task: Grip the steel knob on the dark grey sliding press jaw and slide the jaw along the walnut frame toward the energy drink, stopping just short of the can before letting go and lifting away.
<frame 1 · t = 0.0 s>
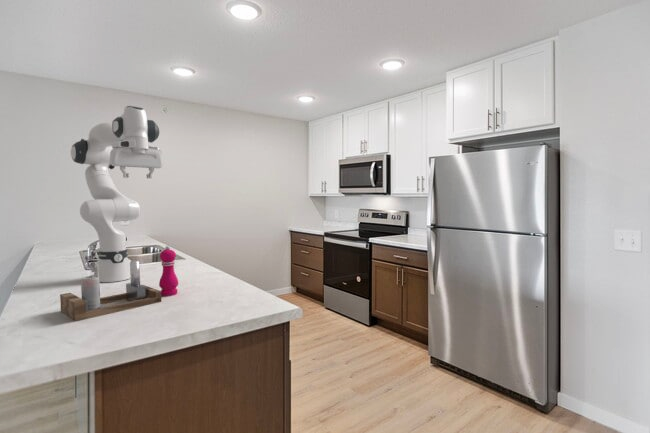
hand: (137, 178, 152), 48 cm above the counter, tool pointing down, fingers open, 8 cm apart
pepper mill: (169, 294, 148), on the counter
press frame: (113, 306, 132), on the counter
press jaw: (135, 281, 137), point 8 cm above the counter, slide at 0.0 cm
energy drink: (91, 311, 126), resting in press frame
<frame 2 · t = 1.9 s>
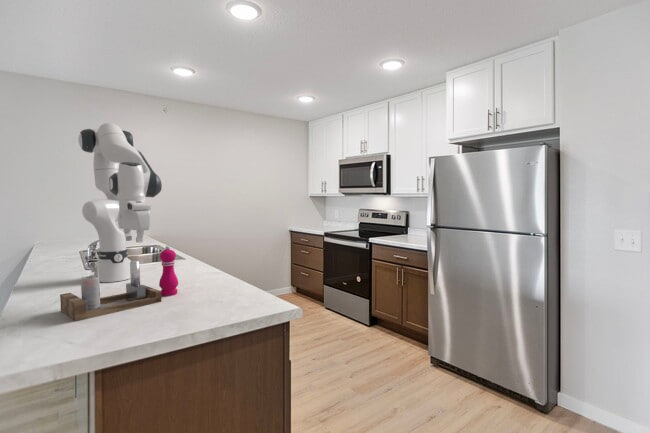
hand: (134, 241, 136), 23 cm above the counter, tool pointing down, fingers open, 8 cm apart
nothing on the counter moved.
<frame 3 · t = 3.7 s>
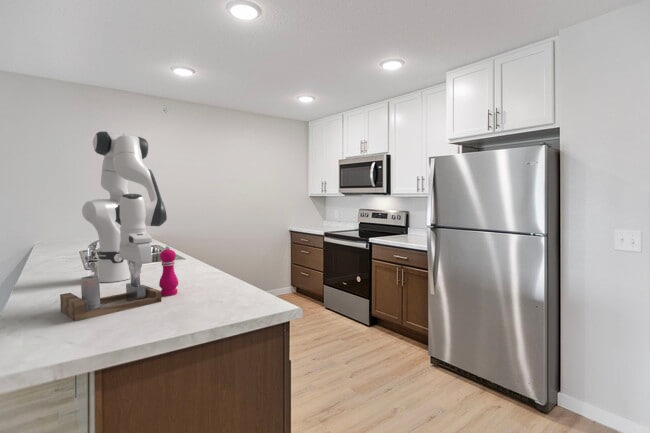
hand: (135, 272, 137), 11 cm above the counter, tool pointing down, fingers closed on press jaw, 3 cm apart
press jaw: (135, 281, 137), point 8 cm above the counter, slide at 0.0 cm, touching gripper
everything else where it was.
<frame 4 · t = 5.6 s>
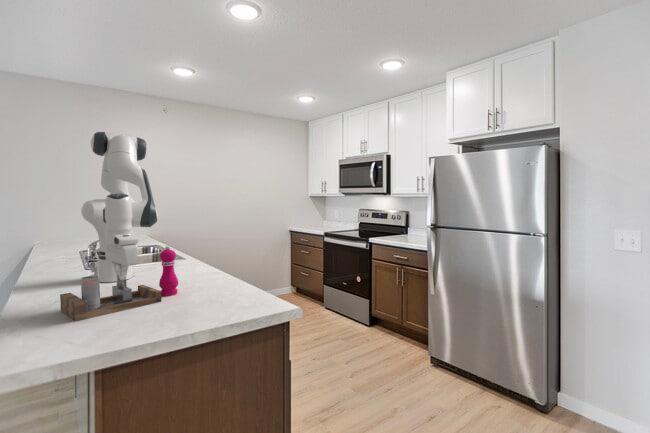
hand: (121, 274, 133), 11 cm above the counter, tool pointing down, fingers closed on press jaw, 3 cm apart
press jaw: (121, 283, 134), point 8 cm above the counter, slide at 4.9 cm, touching gripper
everything else where it was.
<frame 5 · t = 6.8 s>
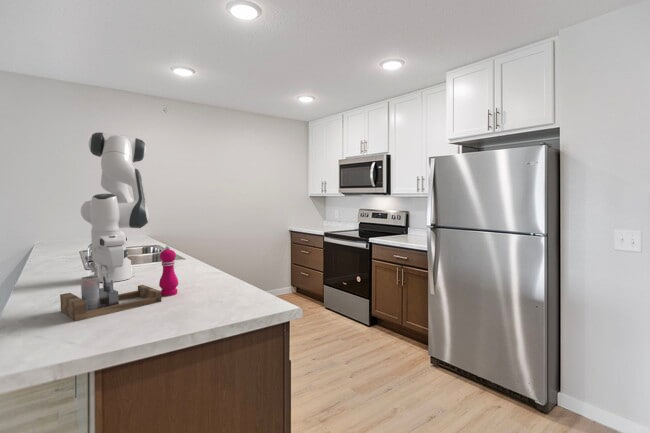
hand: (107, 277, 130), 11 cm above the counter, tool pointing down, fingers closed on press jaw, 3 cm apart
press jaw: (108, 286, 130), point 8 cm above the counter, slide at 9.4 cm, touching gripper
everything else where it was.
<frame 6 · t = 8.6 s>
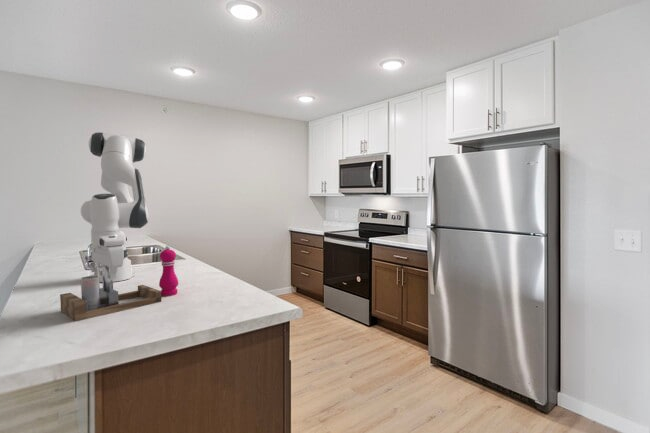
hand: (107, 277, 130), 11 cm above the counter, tool pointing down, fingers open, 8 cm apart
press jaw: (107, 286, 130), point 8 cm above the counter, slide at 9.5 cm
everything else where it was.
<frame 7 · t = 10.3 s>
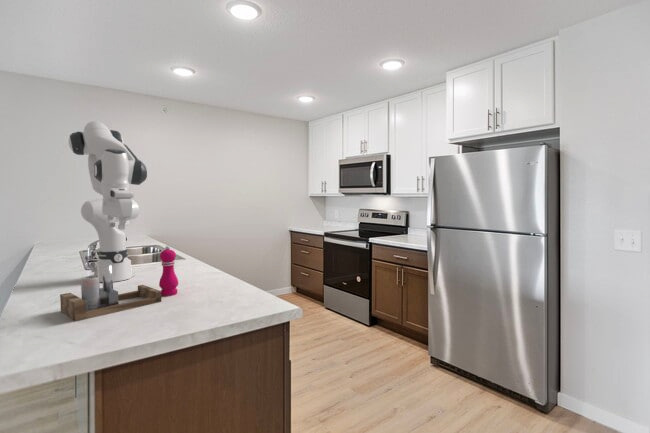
hand: (116, 228, 138), 28 cm above the counter, tool pointing down, fingers open, 8 cm apart
nothing on the counter moved.
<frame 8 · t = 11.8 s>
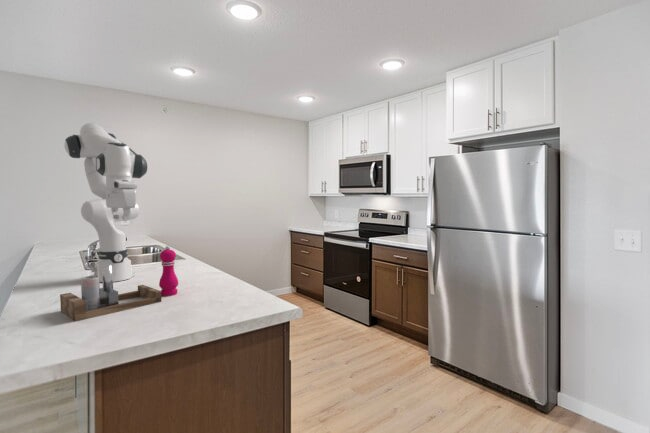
hand: (120, 219, 141), 31 cm above the counter, tool pointing down, fingers open, 8 cm apart
nothing on the counter moved.
at the end: press jaw slide at 9.5 cm; press jaw touching nothing; energy drink moved 0.2 cm from its start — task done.
